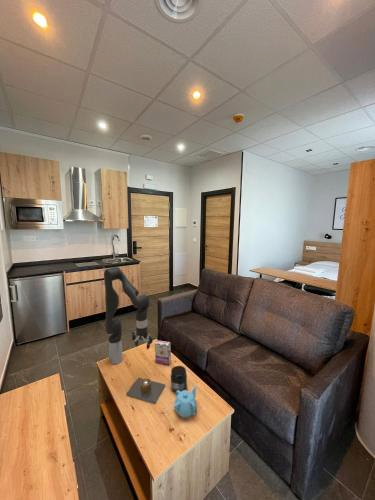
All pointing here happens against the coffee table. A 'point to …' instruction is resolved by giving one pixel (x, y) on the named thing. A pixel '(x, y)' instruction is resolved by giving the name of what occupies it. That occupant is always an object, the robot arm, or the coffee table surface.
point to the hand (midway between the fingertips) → (142, 347)
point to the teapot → (185, 403)
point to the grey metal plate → (149, 396)
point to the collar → (146, 386)
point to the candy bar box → (163, 352)
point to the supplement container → (178, 378)
